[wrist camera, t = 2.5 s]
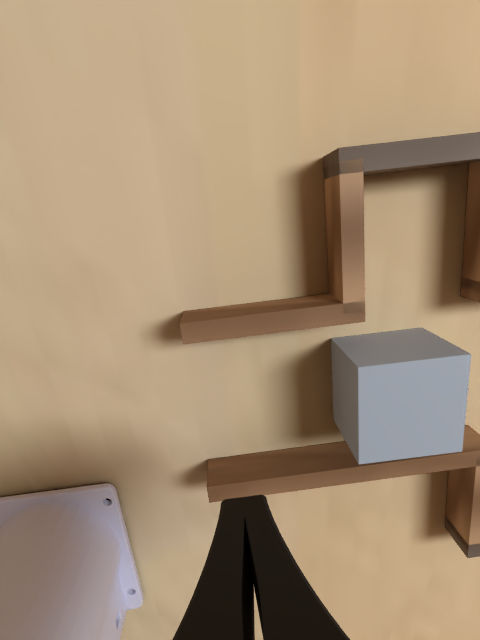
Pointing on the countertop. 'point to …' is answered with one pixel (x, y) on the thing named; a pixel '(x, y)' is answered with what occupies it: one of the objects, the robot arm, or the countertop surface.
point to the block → (399, 394)
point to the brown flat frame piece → (344, 308)
